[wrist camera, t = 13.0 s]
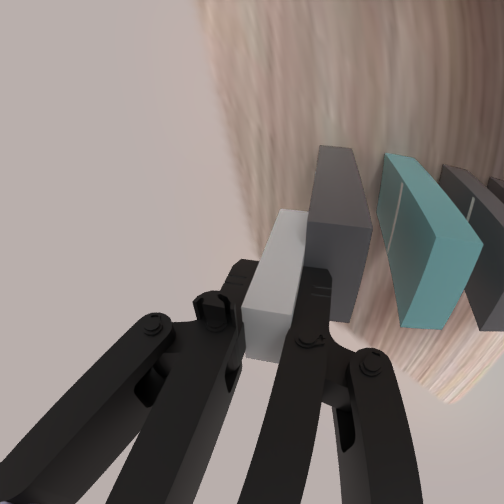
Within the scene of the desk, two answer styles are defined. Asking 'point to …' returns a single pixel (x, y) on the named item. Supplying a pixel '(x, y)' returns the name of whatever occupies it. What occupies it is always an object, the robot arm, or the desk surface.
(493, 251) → the domino
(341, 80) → the desk surface
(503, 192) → the domino
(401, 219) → the domino
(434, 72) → the desk surface
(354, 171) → the domino
